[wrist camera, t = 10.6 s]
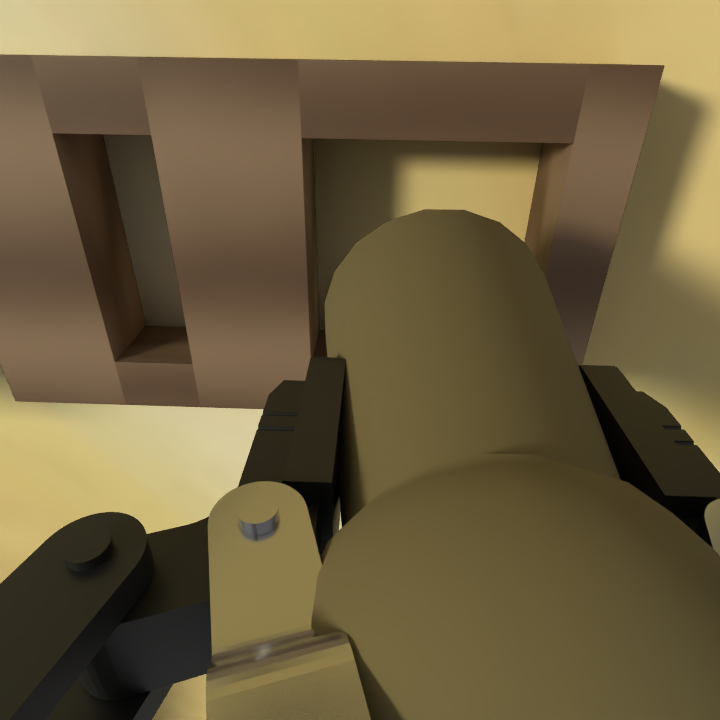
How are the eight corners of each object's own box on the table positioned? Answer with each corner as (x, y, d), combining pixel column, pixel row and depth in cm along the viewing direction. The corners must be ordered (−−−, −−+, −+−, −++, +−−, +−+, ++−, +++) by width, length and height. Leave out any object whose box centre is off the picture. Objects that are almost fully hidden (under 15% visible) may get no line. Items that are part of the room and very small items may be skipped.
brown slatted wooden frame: (-49, 53, 17) (-127, 52, 14) (620, 64, 16) (664, 65, 14) (56, 362, 23) (15, 401, 20) (545, 377, 23) (566, 418, 20)
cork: (278, 318, 14) (64, 872, 4) (449, 152, 12) (768, 563, 2) (423, 443, 16) (492, 1002, 6) (593, 323, 14) (1079, 917, 4)
